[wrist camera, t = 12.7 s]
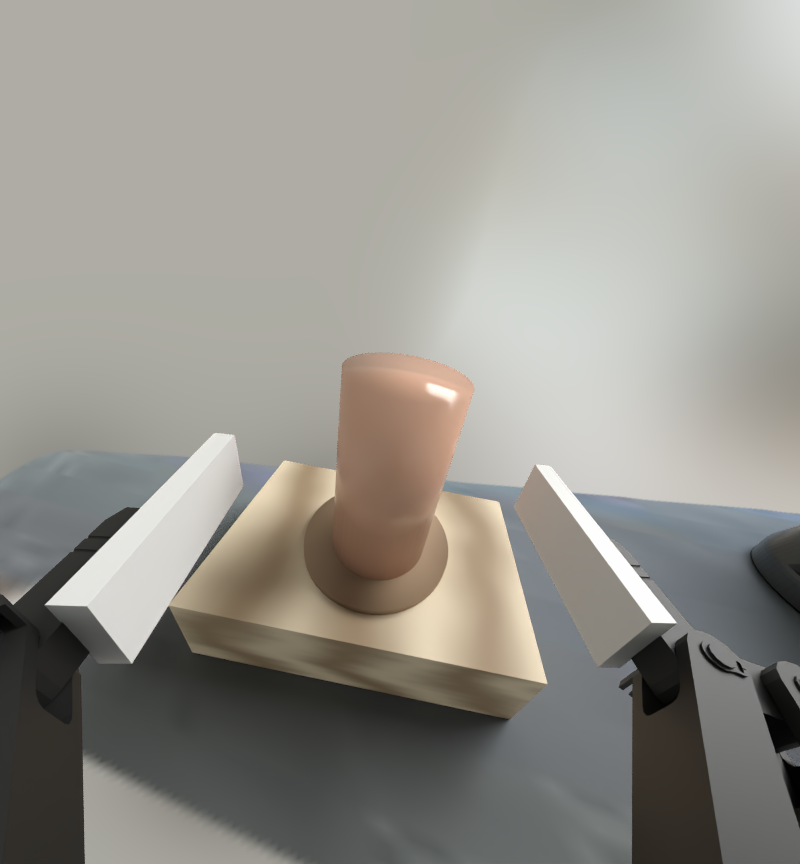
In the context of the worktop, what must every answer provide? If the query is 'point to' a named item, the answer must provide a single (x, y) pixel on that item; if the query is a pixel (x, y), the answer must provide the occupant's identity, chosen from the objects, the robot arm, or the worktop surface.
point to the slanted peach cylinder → (393, 458)
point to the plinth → (367, 602)
